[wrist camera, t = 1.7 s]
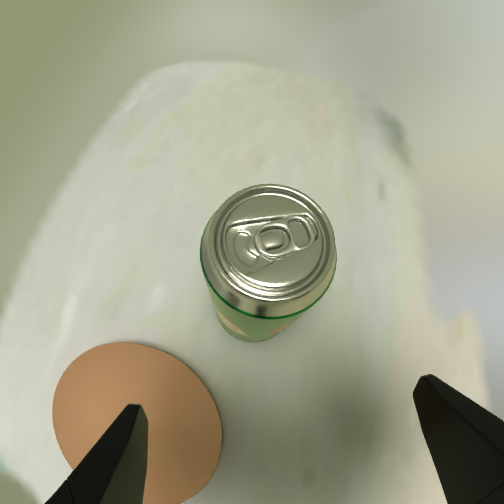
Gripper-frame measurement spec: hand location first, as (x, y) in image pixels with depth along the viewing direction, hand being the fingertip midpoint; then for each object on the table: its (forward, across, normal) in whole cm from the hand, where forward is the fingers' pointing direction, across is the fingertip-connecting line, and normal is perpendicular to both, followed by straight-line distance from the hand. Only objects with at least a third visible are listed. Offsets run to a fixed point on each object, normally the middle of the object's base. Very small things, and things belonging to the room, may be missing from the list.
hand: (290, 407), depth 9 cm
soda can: (+12, 0, +5) cm, 13 cm away
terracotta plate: (+6, +9, +11) cm, 15 cm away
